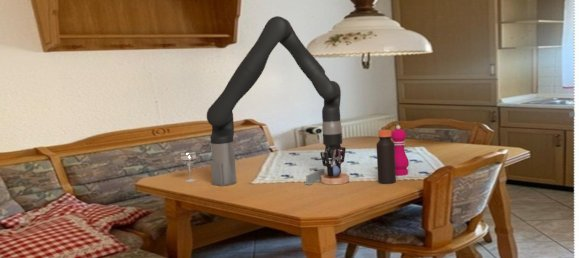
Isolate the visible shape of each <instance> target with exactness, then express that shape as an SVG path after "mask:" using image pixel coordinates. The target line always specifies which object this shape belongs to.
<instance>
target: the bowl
mask: <svg viewBox="0 0 579 258" xmlns="http://www.w3.org/2000/svg"><path fill="white" fill-rule="evenodd" d="M320 177H321V179H320V183H321V185H322V184H323V185H327V186H329V185H330V186H334V185H335V186H337V185H344V184H347V183H349V182H350V175H349V174H348V173H344V172H341V174H338V175H337V176H332V177H331V176H328V174H327V173H325V174H324V175H321V176H320Z"/></svg>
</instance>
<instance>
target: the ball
mask: <svg viewBox="0 0 579 258" xmlns="http://www.w3.org/2000/svg"><path fill="white" fill-rule="evenodd" d="M339 173H340V169H339V167H338V166H336V164H333V176H337V175H338V174H339Z"/></svg>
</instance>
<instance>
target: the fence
mask: <svg viewBox="0 0 579 258" xmlns="http://www.w3.org/2000/svg"><path fill="white" fill-rule="evenodd" d="M325 169H326V168H322V169H319V170H317V171H315V172H312V173H309V174H307V175H306V176H305V182H304V183H303V185H309V186H312V185H313V184H314V183H315V182H317V181H321V177H320V176H321V175H324V174H326V171H325Z"/></svg>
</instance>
